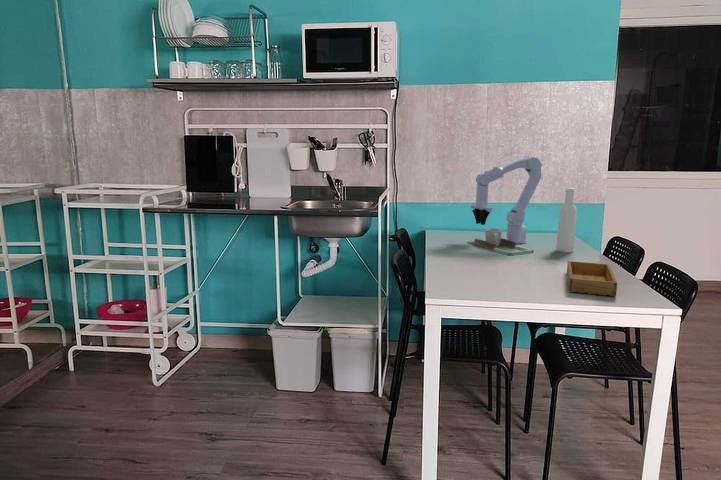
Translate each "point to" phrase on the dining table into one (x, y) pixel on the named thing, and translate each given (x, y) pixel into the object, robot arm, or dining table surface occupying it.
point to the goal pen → (515, 251)
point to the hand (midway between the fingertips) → (480, 224)
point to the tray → (591, 278)
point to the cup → (493, 235)
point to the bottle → (567, 224)
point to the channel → (492, 245)
